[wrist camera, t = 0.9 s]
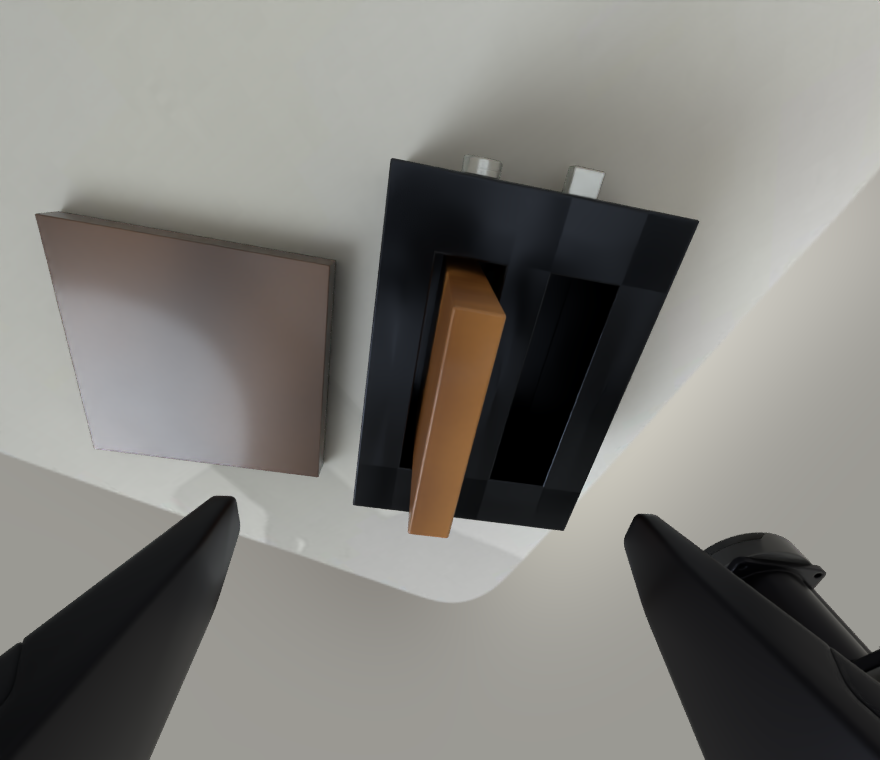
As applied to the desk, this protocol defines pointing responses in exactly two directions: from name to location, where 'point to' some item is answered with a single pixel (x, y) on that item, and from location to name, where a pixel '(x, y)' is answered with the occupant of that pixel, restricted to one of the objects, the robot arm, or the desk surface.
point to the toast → (452, 392)
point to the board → (194, 343)
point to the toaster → (514, 330)
